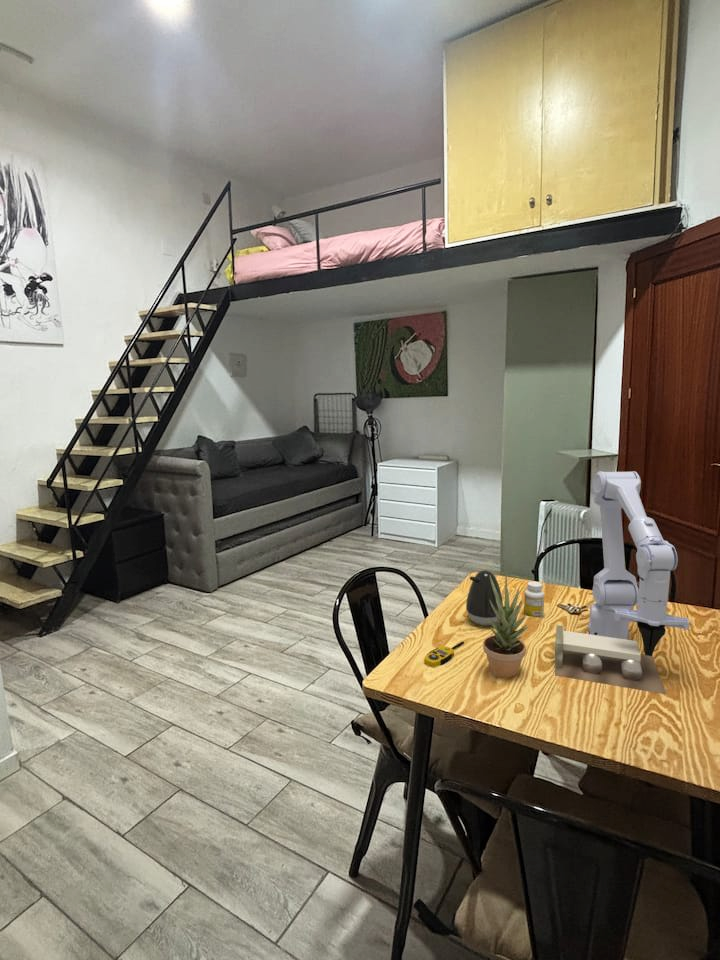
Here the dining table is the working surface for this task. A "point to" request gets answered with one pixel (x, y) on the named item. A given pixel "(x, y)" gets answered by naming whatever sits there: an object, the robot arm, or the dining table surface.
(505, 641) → the potted plant
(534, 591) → the supplement bottle
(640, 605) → the robot arm
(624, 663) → the roller
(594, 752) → the dining table surface
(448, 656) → the yellow walkie-talkie
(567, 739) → the dining table surface
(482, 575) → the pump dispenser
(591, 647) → the slab
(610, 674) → the board
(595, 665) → the roller
